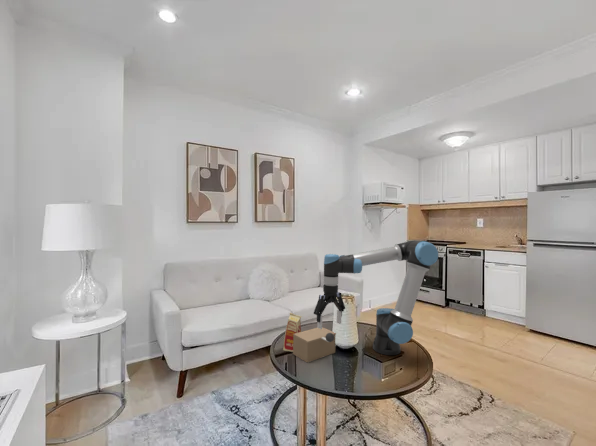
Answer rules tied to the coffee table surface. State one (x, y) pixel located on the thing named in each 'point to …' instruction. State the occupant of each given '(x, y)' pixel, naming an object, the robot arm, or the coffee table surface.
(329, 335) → the carton lid
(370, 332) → the coffee table surface
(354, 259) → the robot arm
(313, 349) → the carton
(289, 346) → the milk carton
